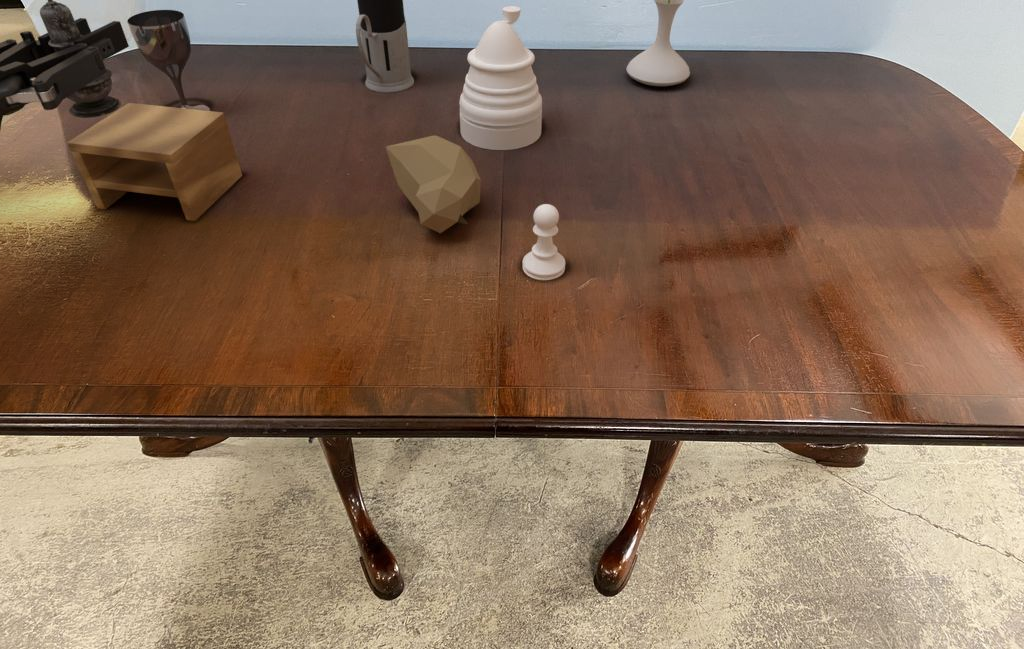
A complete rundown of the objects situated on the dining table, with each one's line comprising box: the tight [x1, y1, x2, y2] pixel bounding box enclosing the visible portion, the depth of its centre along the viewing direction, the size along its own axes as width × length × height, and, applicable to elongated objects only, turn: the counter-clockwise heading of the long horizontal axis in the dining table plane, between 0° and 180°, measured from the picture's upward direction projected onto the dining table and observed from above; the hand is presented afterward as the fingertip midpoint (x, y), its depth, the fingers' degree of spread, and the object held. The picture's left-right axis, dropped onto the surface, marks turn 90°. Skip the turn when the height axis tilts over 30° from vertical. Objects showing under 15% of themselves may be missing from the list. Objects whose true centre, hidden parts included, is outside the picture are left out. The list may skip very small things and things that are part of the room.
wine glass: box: [126, 9, 211, 111], centre depth 105 cm, size 8×8×15 cm
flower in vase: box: [625, 0, 691, 87], centre depth 113 cm, size 13×11×25 cm
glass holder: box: [355, 0, 415, 93], centre depth 113 cm, size 9×14×15 cm, turn 166°
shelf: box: [66, 102, 243, 222], centre depth 87 cm, size 14×12×10 cm
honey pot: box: [458, 5, 543, 151], centre depth 100 cm, size 13×13×18 cm
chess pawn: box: [521, 203, 567, 281], centre depth 75 cm, size 5×5×9 cm
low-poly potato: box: [385, 134, 482, 234], centre depth 84 cm, size 15×11×12 cm
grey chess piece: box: [39, 0, 122, 119], centre depth 71 cm, size 6×6×12 cm
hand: (104, 32), depth 75 cm, fingers closed on grey chess piece, 4 cm apart
